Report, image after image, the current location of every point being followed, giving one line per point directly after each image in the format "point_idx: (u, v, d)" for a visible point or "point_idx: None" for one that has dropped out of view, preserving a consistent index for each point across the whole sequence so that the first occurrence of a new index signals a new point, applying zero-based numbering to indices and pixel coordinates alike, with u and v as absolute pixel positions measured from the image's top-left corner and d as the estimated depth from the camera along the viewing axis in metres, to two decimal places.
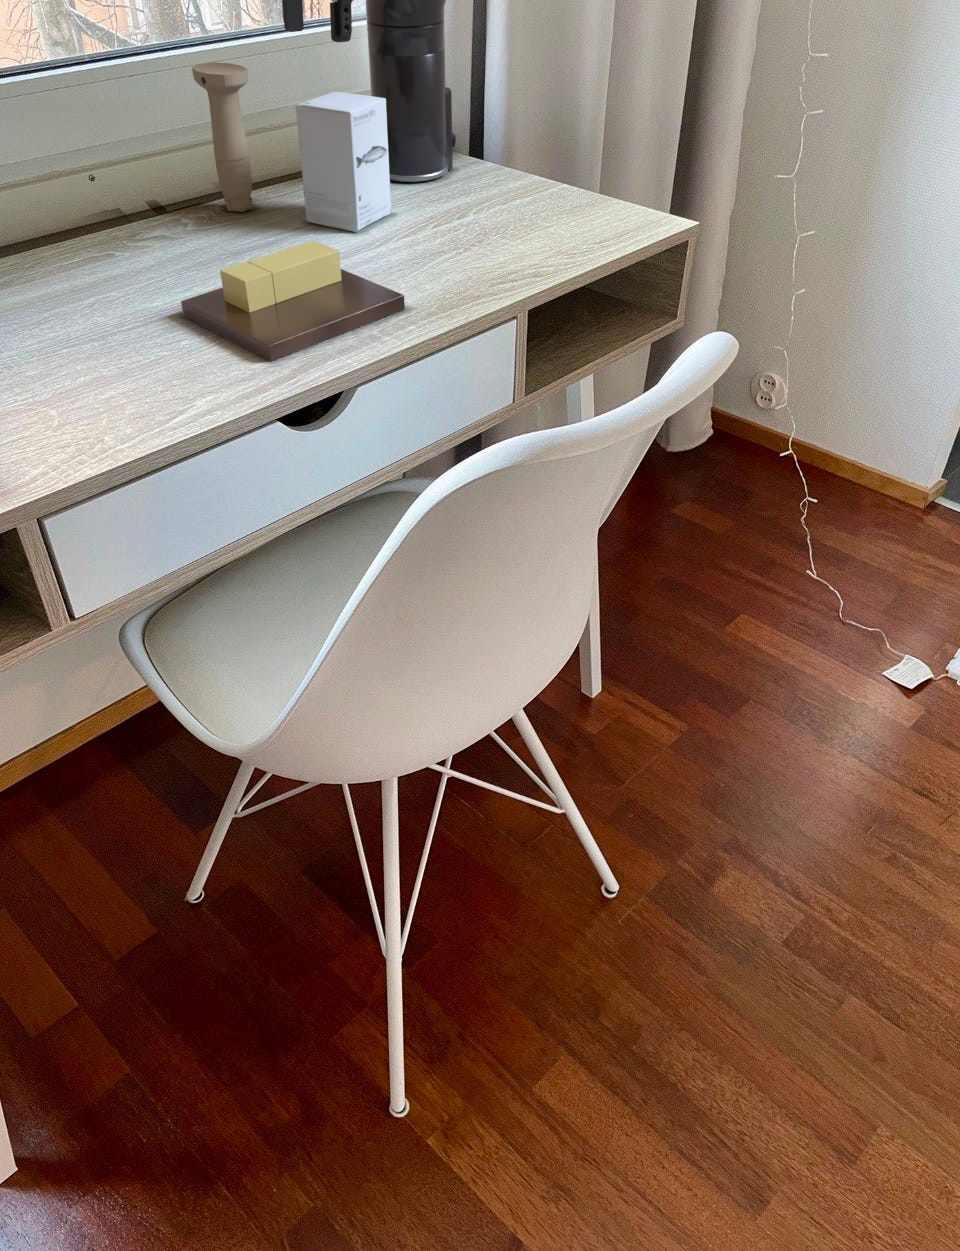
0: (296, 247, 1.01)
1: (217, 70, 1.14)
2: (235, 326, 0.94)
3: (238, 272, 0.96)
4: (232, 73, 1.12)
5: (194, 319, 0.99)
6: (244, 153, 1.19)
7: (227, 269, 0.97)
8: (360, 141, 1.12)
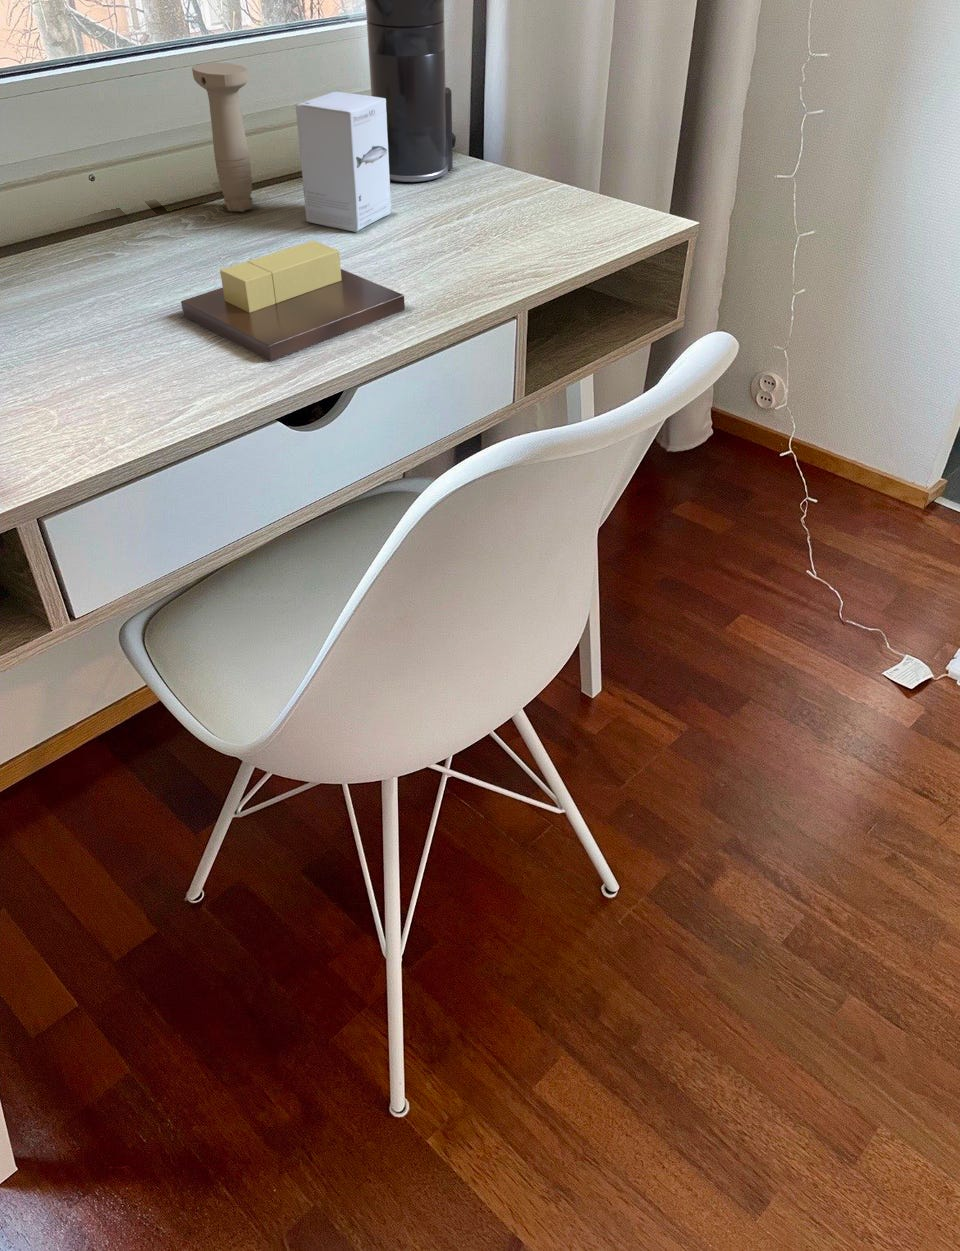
0: (296, 247, 1.01)
1: (217, 70, 1.14)
2: (235, 326, 0.94)
3: (238, 272, 0.96)
4: (232, 73, 1.12)
5: (194, 319, 0.99)
6: (244, 153, 1.19)
7: (227, 269, 0.97)
8: (359, 141, 1.12)
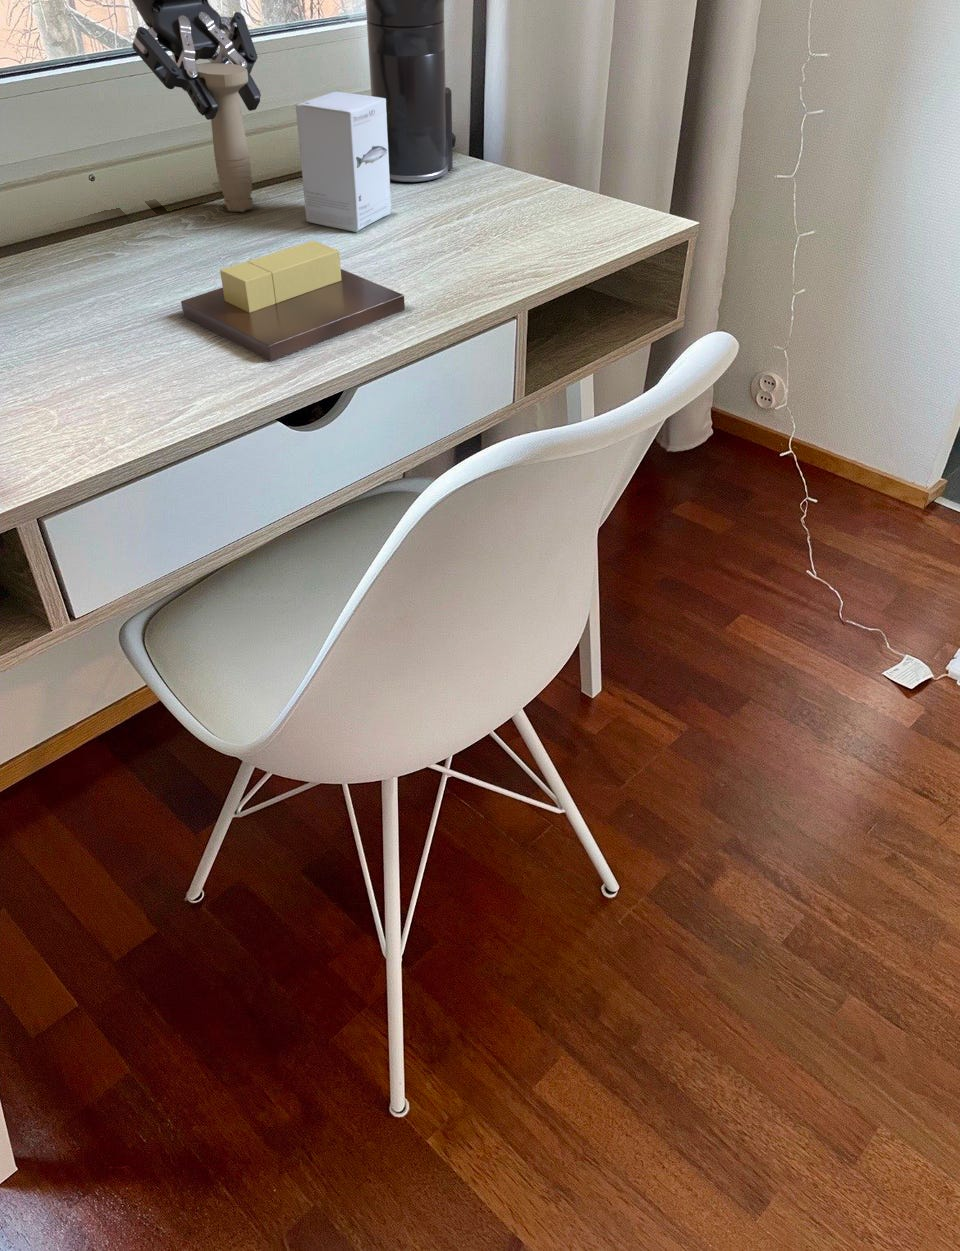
0: (296, 247, 1.01)
1: (217, 70, 1.13)
2: (235, 326, 0.94)
3: (238, 272, 0.96)
4: (232, 73, 1.12)
5: (194, 319, 0.99)
6: (244, 153, 1.19)
7: (227, 269, 0.97)
8: (359, 141, 1.12)
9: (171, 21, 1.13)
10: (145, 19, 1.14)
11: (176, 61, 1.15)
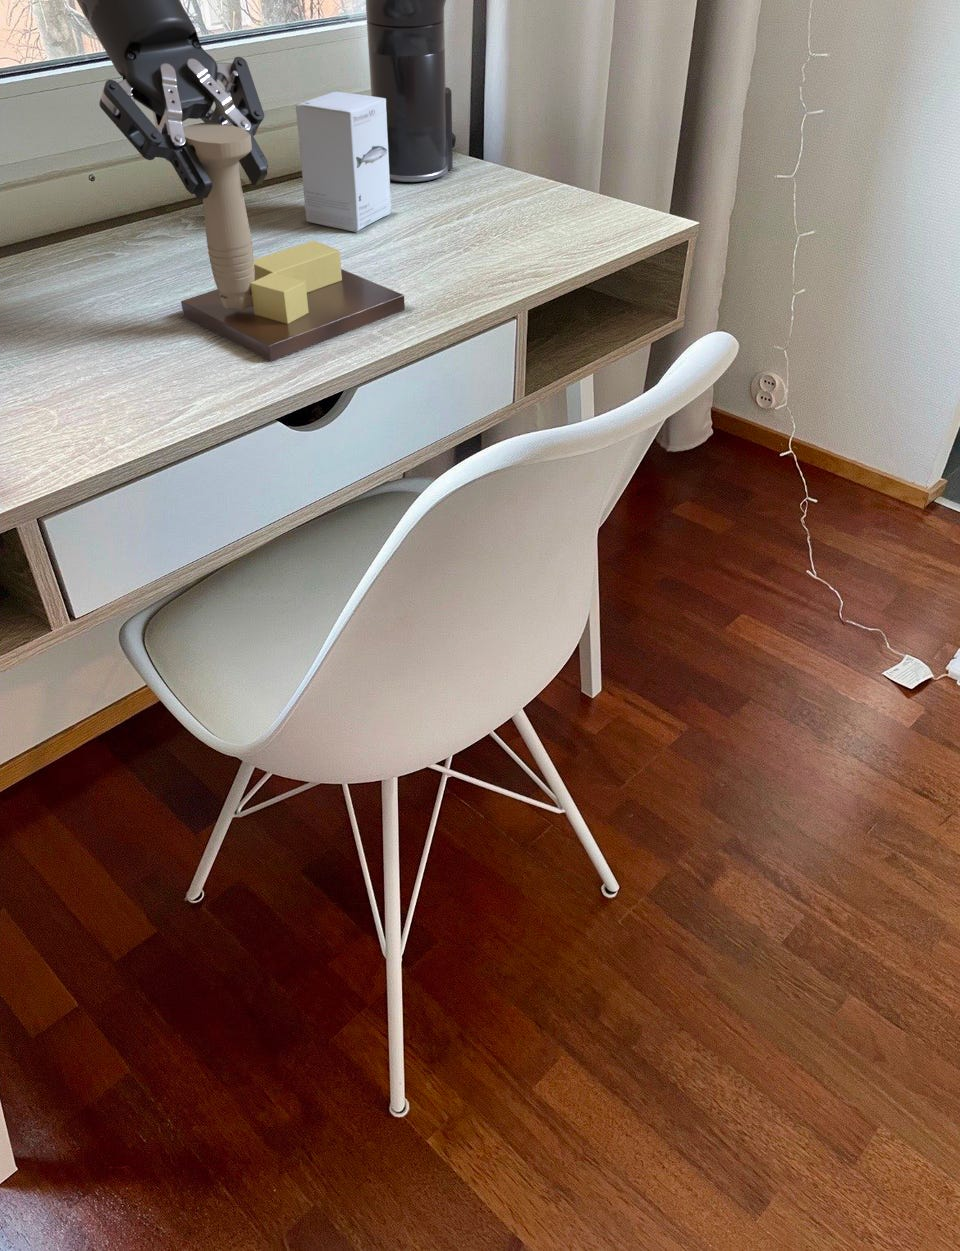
0: (296, 247, 1.01)
1: (211, 135, 0.86)
2: (235, 326, 0.94)
3: (271, 284, 0.94)
4: (231, 141, 0.85)
5: (194, 319, 0.99)
6: (245, 239, 0.92)
7: (258, 281, 0.95)
8: (360, 141, 1.12)
9: (150, 71, 0.86)
10: (117, 67, 0.86)
11: (158, 122, 0.87)
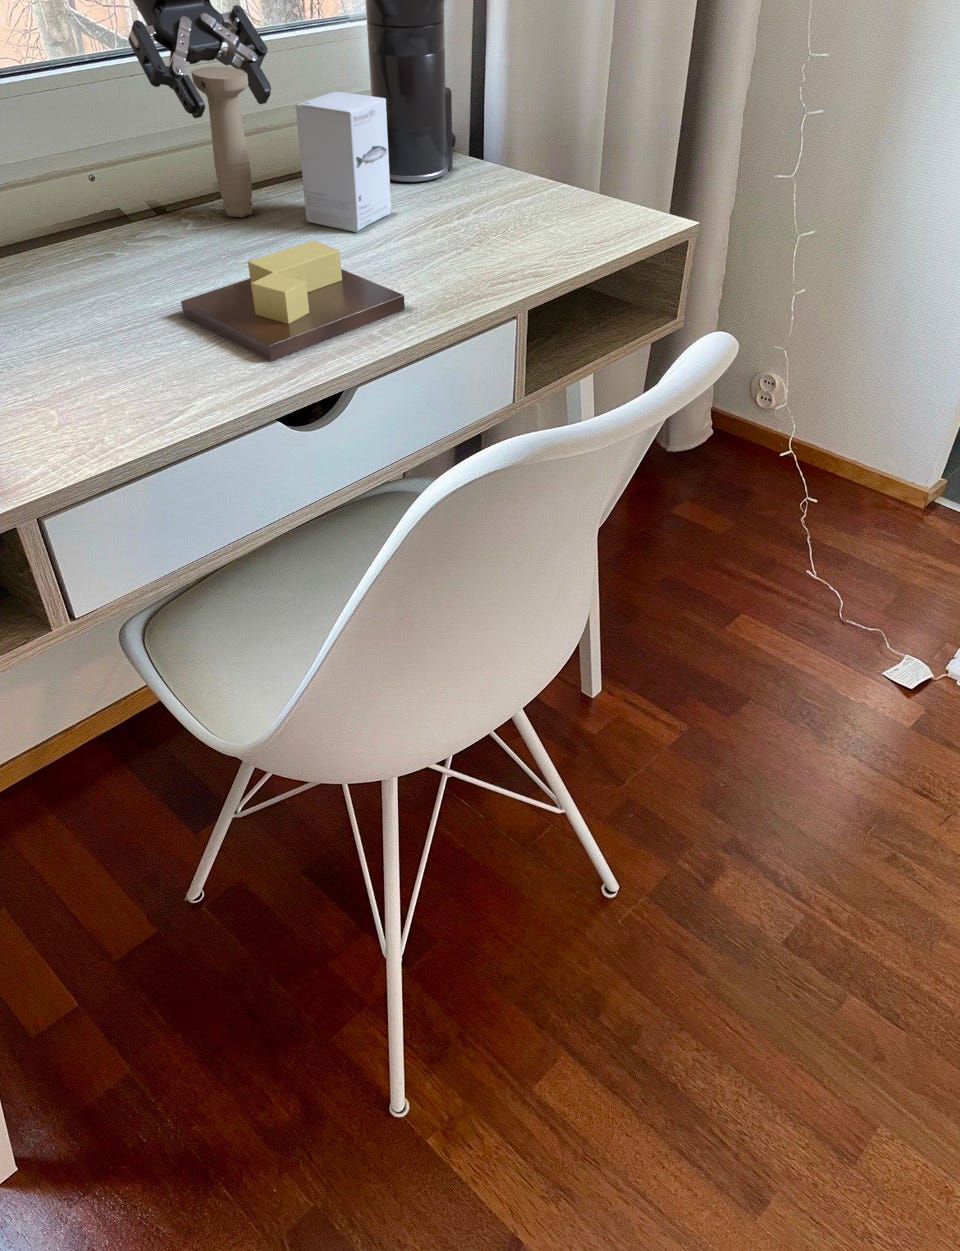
0: (296, 247, 1.01)
1: (217, 74, 1.12)
2: (235, 326, 0.94)
3: (271, 284, 0.94)
4: (232, 77, 1.11)
5: (194, 319, 0.99)
6: (244, 158, 1.17)
7: (258, 282, 0.95)
8: (360, 141, 1.12)
9: (172, 22, 1.11)
10: (146, 20, 1.12)
11: (171, 59, 1.13)
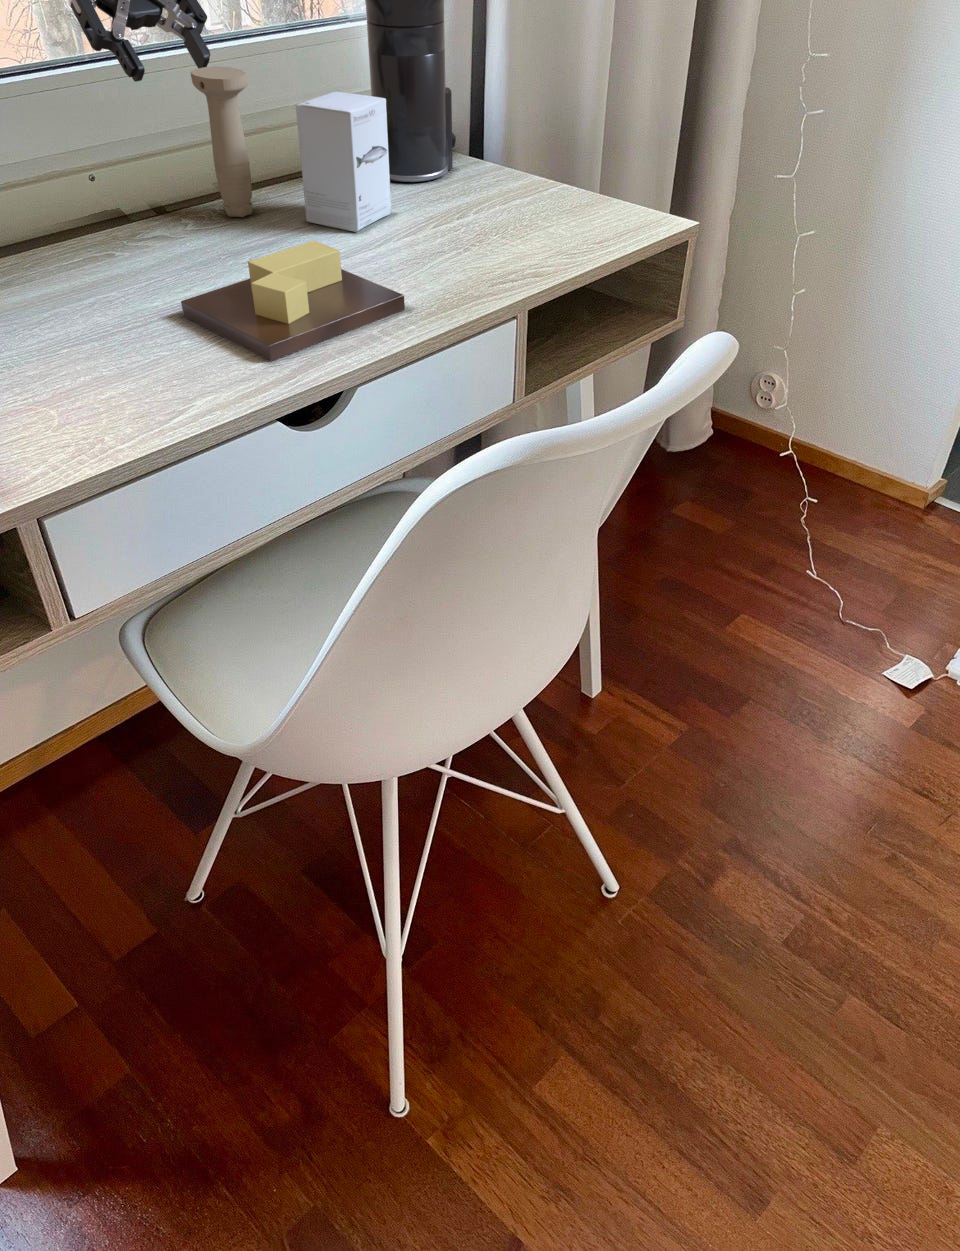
0: (296, 247, 1.01)
1: (216, 74, 1.12)
2: (235, 326, 0.94)
3: (271, 284, 0.94)
4: (231, 77, 1.11)
5: (194, 319, 0.99)
6: (244, 158, 1.17)
7: (258, 282, 0.95)
8: (360, 141, 1.12)
9: None
10: None
11: (112, 25, 1.17)
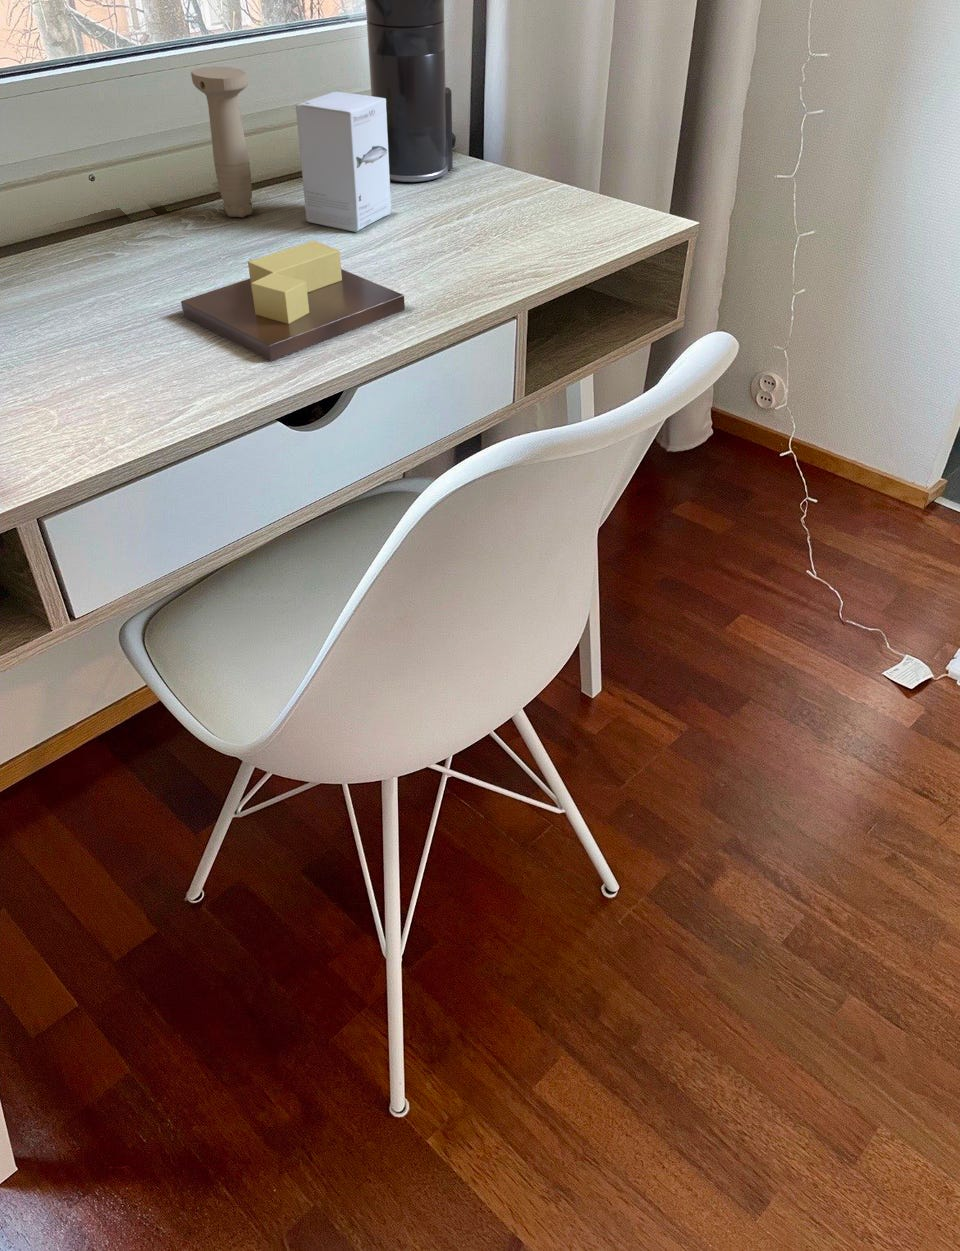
0: (296, 247, 1.01)
1: (216, 74, 1.12)
2: (235, 326, 0.94)
3: (271, 284, 0.94)
4: (231, 77, 1.11)
5: (194, 319, 0.99)
6: (244, 158, 1.17)
7: (258, 282, 0.95)
8: (360, 141, 1.12)
9: None
10: None
11: None
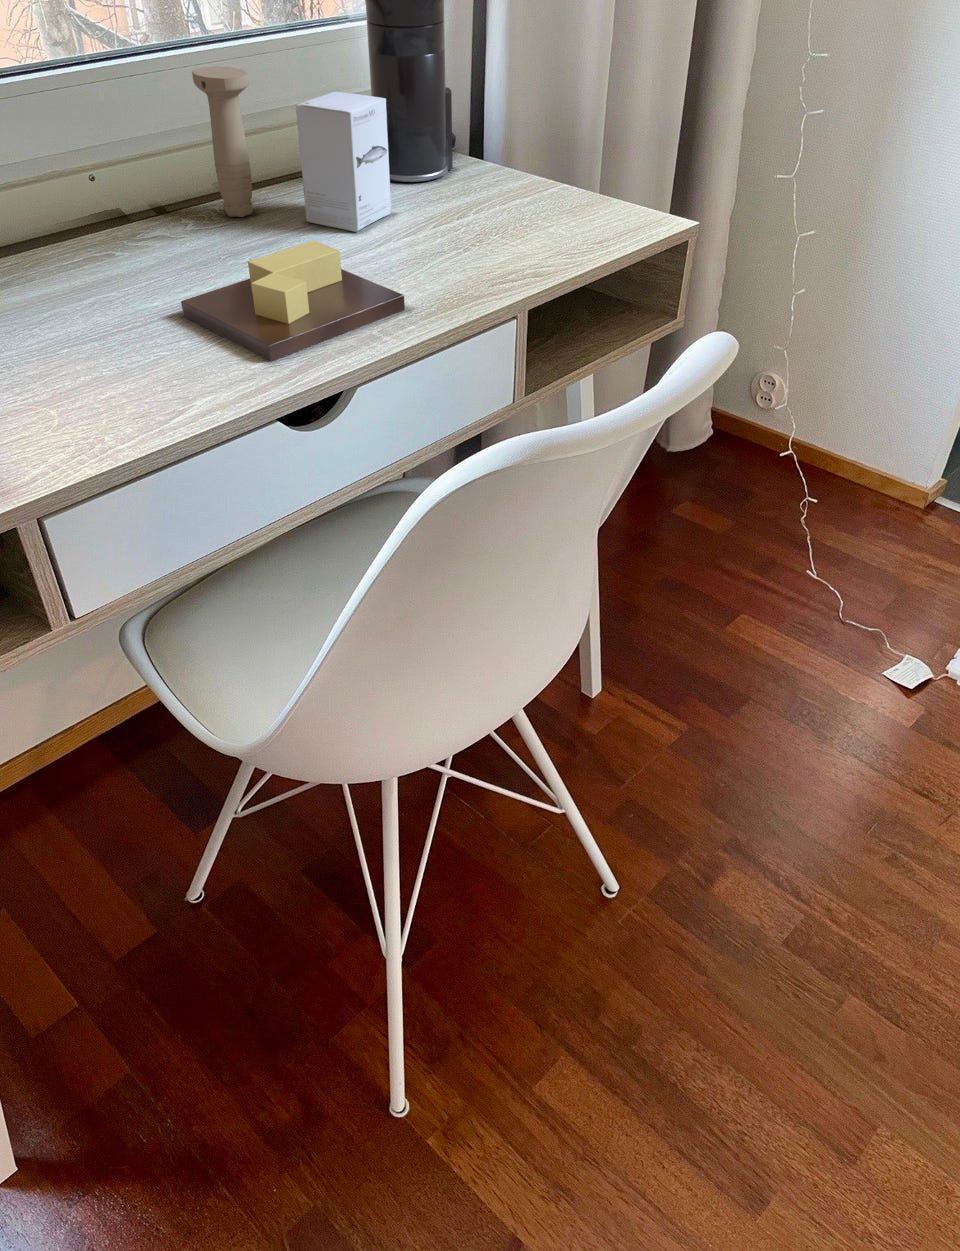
0: (296, 247, 1.01)
1: (217, 74, 1.12)
2: (235, 326, 0.94)
3: (271, 284, 0.94)
4: (232, 77, 1.11)
5: (194, 319, 0.99)
6: (244, 158, 1.17)
7: (258, 282, 0.95)
8: (360, 141, 1.12)
9: None
10: None
11: None
